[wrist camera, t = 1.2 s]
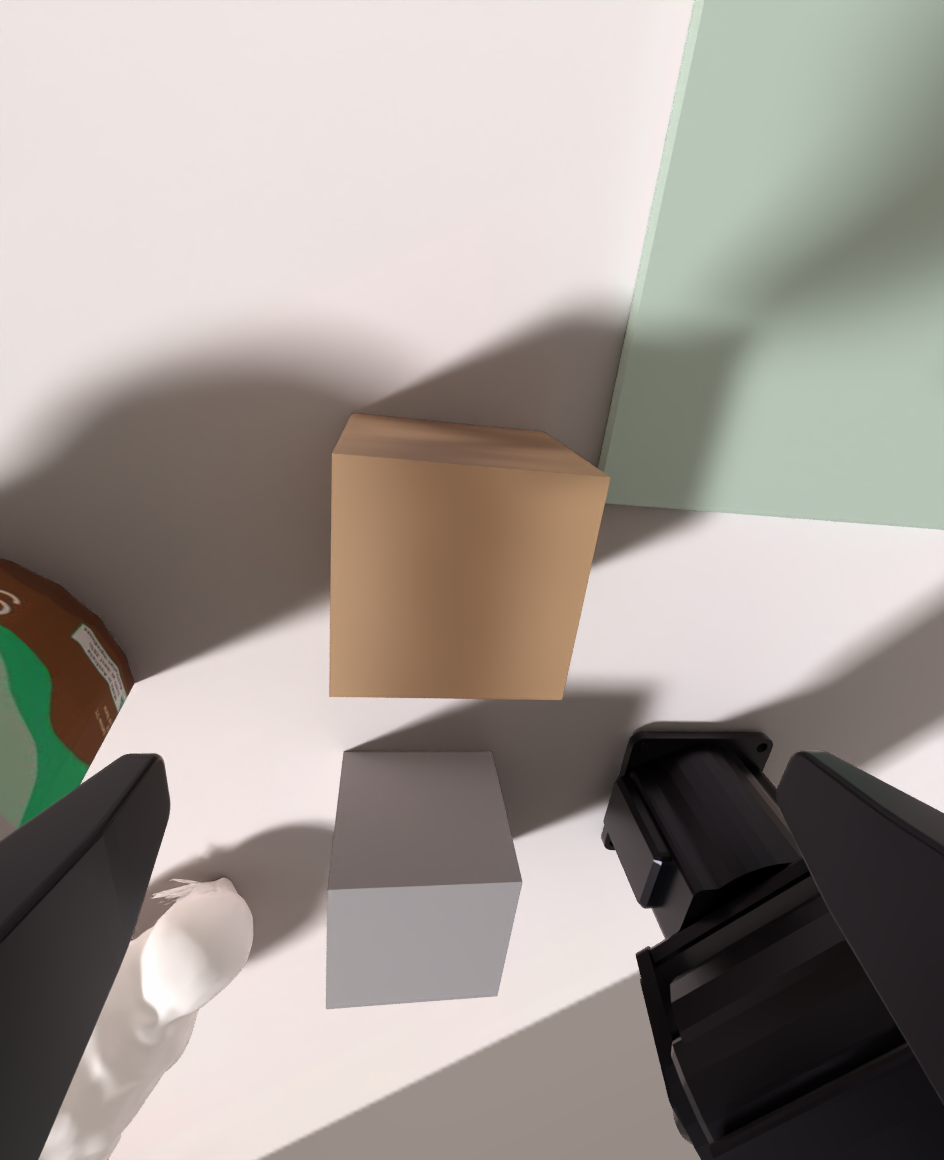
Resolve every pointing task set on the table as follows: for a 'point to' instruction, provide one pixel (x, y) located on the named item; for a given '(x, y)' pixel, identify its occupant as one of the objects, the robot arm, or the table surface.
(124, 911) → the robot arm
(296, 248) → the table surface
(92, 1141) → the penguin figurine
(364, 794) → the medium grey block
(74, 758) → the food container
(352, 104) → the table surface
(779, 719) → the table surface
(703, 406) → the sage mat
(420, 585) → the tan cube
